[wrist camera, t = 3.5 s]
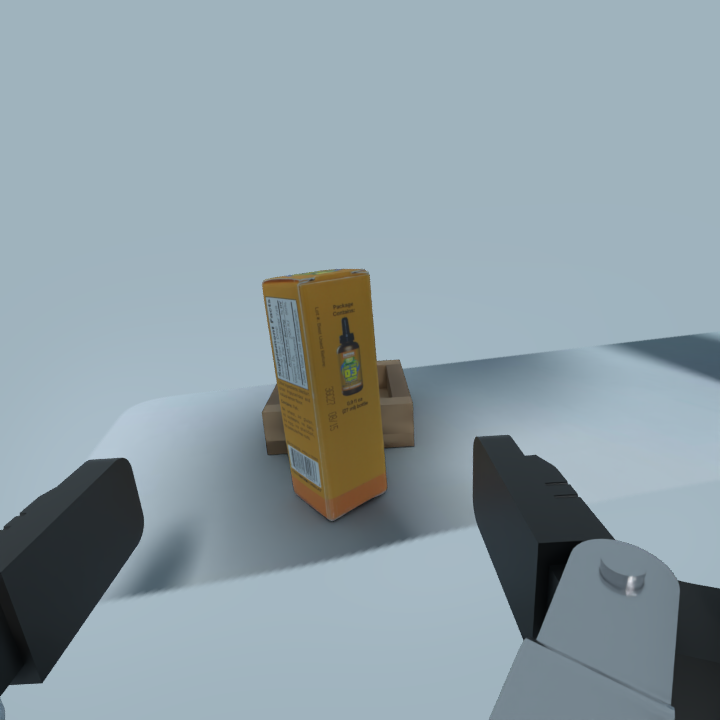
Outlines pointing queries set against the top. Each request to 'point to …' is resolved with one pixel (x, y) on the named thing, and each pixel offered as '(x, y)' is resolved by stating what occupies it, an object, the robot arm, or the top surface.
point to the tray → (392, 404)
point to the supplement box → (328, 386)
